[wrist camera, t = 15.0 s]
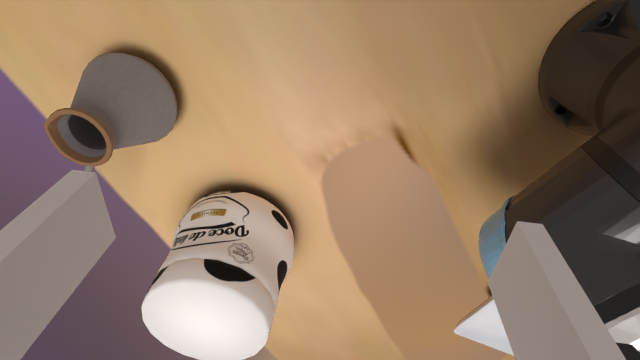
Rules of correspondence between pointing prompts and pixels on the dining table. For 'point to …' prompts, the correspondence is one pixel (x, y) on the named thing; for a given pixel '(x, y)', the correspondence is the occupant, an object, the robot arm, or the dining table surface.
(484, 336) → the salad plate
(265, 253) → the milk container
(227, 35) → the dining table surface
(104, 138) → the coffee pot
